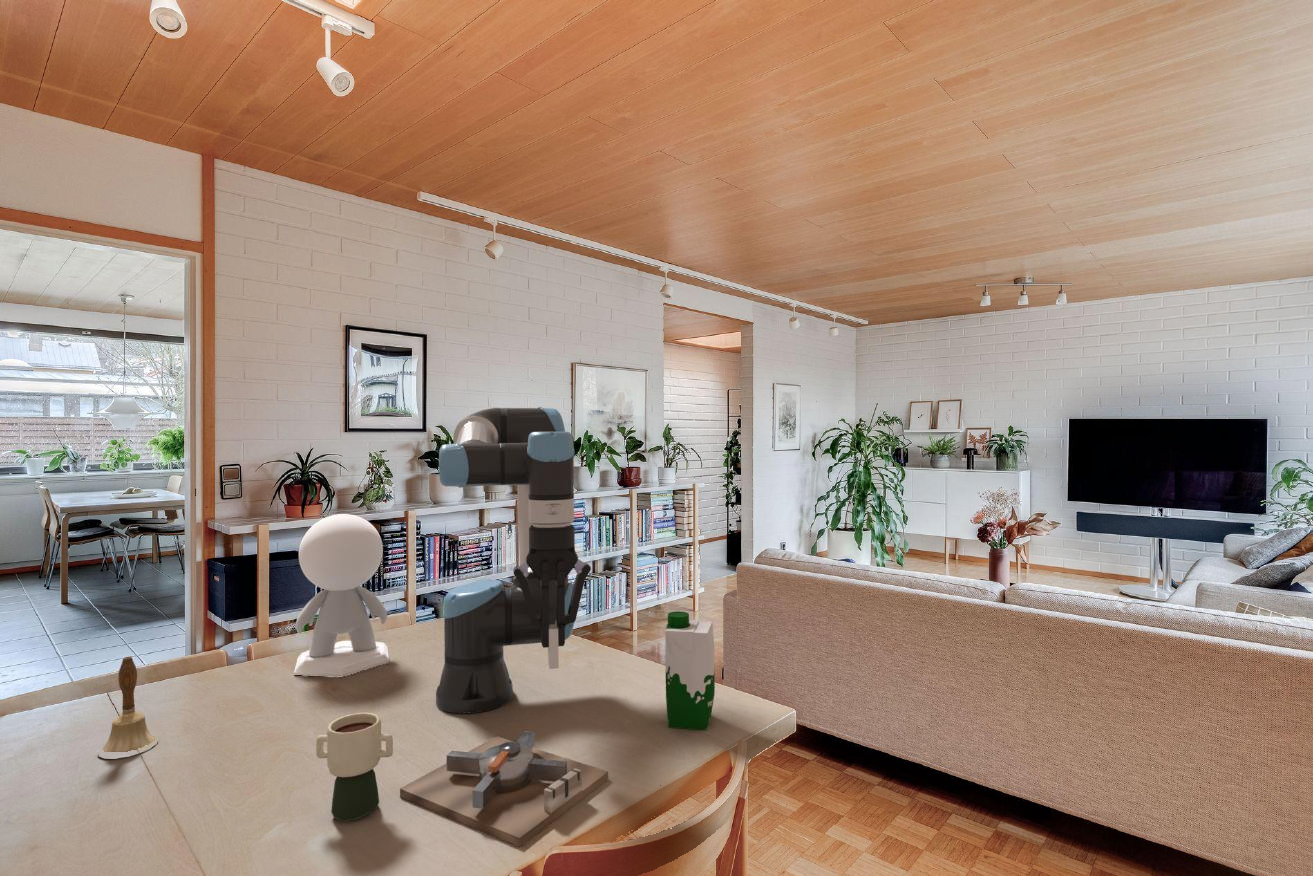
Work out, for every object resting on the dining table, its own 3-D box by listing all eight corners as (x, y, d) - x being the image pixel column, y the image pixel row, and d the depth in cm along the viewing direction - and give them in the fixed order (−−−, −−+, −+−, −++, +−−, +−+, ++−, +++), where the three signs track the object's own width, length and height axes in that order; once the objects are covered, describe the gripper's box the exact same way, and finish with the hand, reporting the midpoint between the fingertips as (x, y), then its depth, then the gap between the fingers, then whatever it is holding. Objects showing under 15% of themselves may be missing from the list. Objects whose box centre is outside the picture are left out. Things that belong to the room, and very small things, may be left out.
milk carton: (671, 709, 132) (670, 607, 132) (717, 713, 130) (716, 609, 130) (662, 729, 123) (661, 620, 123) (711, 733, 122) (710, 622, 121)
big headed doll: (386, 642, 176) (384, 507, 175) (390, 671, 155) (388, 518, 154) (299, 653, 168) (297, 512, 167) (291, 685, 147) (288, 523, 146)
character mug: (402, 798, 101) (401, 711, 101) (384, 826, 94) (382, 733, 94) (329, 799, 101) (327, 712, 101) (305, 827, 94) (303, 734, 94)
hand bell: (169, 741, 120) (168, 652, 120) (119, 763, 112) (117, 668, 112) (137, 735, 123) (135, 647, 123) (86, 756, 115) (84, 662, 115)
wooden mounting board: (400, 796, 101) (399, 768, 101) (496, 743, 119) (496, 719, 118) (519, 847, 89) (519, 815, 89) (608, 779, 106) (608, 752, 106)
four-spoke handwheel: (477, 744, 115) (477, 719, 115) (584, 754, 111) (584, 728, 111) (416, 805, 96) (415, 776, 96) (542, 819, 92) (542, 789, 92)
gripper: (512, 528, 107) (514, 677, 107) (593, 525, 110) (595, 669, 110) (511, 522, 115) (512, 662, 115) (587, 519, 118) (589, 655, 118)
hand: (553, 665), depth 113 cm, fingers closed
